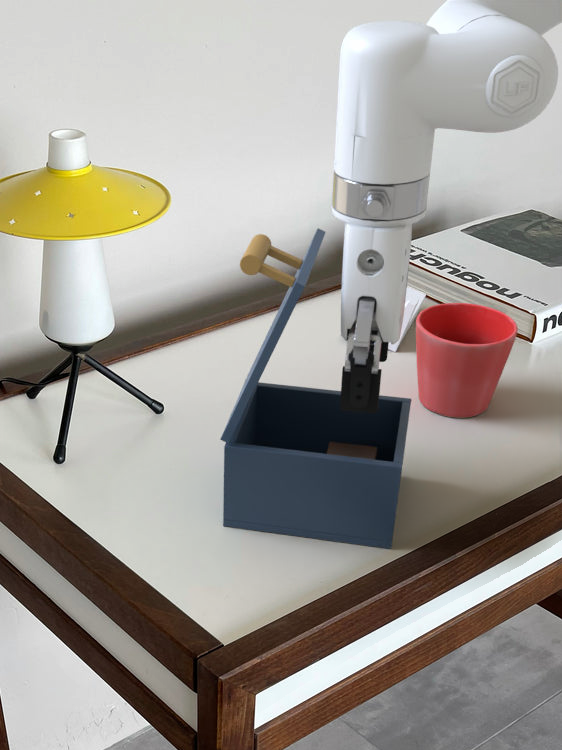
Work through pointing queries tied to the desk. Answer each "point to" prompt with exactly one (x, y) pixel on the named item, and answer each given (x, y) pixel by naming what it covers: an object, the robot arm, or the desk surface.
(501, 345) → the flower pot
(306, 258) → the lid
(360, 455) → the block
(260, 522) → the chest
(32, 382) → the desk surface
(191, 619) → the desk surface
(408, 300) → the bracket
